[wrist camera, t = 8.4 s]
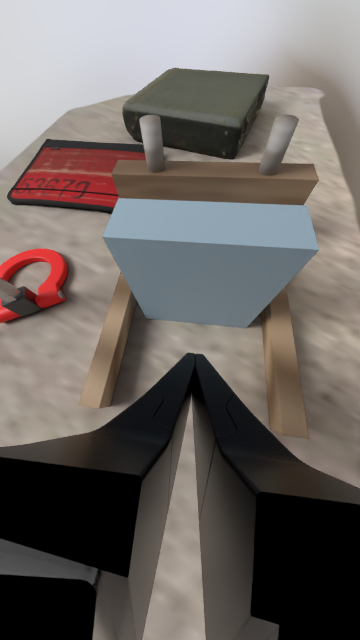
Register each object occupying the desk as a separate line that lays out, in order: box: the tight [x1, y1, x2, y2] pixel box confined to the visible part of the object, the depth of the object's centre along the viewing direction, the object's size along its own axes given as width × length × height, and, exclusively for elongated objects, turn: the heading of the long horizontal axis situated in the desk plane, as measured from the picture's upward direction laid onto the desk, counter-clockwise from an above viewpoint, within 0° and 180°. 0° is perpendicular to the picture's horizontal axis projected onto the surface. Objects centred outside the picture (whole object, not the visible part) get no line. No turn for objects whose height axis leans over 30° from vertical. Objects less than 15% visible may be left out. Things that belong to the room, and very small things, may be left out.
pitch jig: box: [78, 115, 319, 439], centre depth 13 cm, size 22×18×10 cm
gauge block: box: [103, 198, 319, 328], centre depth 14 cm, size 11×10×10 cm
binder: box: [7, 139, 146, 214], centre depth 27 cm, size 16×2×21 cm
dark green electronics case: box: [123, 68, 269, 159], centre depth 32 cm, size 23×24×5 cm
